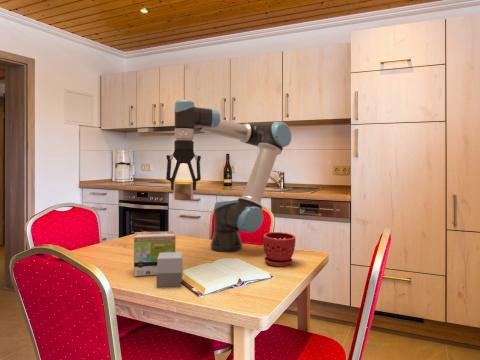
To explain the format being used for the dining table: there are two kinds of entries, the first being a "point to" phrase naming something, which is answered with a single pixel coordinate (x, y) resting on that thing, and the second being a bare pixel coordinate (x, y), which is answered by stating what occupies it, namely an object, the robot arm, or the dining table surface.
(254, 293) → the dining table surface
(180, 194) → the walnut cube
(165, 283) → the dark grey block
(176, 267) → the grey square block
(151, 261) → the tea box
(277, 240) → the plant pot
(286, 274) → the dining table surface
